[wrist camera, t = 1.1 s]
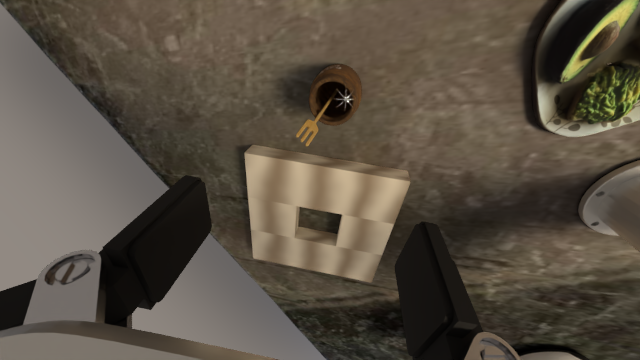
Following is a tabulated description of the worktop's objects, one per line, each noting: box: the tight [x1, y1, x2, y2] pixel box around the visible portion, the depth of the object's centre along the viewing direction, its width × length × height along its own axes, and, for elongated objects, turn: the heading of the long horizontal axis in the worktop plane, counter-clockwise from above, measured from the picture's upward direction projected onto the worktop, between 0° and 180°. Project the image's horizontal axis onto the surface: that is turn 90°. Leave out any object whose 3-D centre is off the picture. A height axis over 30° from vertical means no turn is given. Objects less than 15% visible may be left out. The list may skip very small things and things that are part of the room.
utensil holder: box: [296, 64, 362, 146], centre depth 25 cm, size 6×6×12 cm
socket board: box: [244, 145, 411, 282], centre depth 41 cm, size 24×24×3 cm
